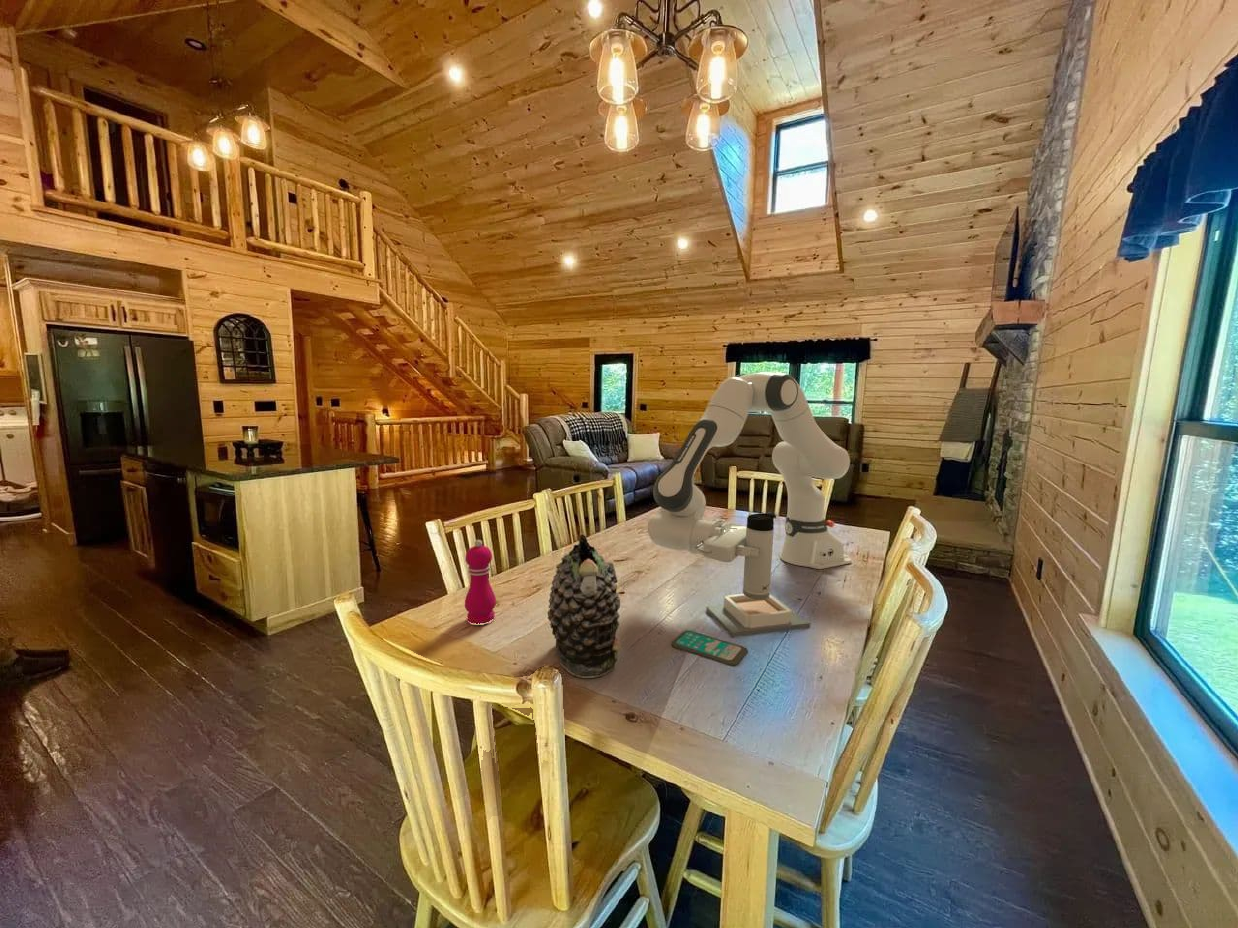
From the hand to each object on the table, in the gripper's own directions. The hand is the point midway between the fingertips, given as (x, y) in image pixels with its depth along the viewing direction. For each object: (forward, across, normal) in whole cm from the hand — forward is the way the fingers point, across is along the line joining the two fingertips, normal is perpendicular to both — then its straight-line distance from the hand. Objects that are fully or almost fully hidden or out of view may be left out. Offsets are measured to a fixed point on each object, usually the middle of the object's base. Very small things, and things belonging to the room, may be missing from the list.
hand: (763, 547), depth 117 cm
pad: (-1, 0, +17) cm, 17 cm away
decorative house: (-27, -36, +19) cm, 48 cm away
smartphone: (-6, -19, +19) cm, 27 cm away
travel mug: (-1, 0, +12) cm, 12 cm away
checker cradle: (-1, 0, +18) cm, 18 cm away
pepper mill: (-57, -35, +19) cm, 70 cm away
